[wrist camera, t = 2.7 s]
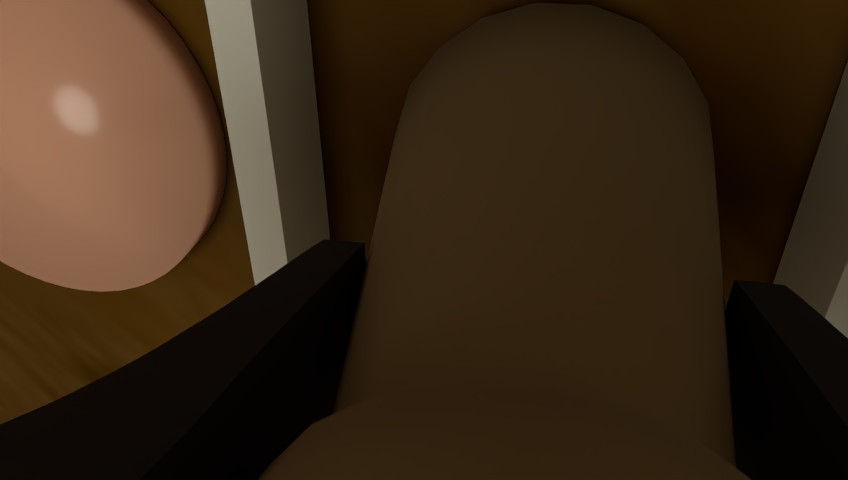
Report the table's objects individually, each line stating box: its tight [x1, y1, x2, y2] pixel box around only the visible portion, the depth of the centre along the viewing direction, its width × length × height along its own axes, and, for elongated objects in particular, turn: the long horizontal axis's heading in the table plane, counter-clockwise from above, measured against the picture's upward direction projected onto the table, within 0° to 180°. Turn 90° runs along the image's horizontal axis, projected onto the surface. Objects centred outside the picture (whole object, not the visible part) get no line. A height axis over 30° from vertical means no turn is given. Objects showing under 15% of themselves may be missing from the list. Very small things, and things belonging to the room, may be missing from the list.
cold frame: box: [205, 0, 848, 338], centre depth 10 cm, size 12×12×9 cm
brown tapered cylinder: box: [258, 3, 751, 480], centre depth 8 cm, size 6×6×11 cm
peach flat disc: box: [0, 0, 227, 292], centre depth 15 cm, size 8×8×1 cm
